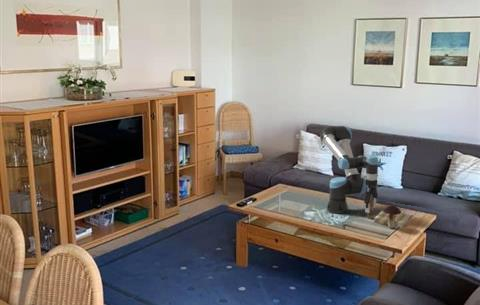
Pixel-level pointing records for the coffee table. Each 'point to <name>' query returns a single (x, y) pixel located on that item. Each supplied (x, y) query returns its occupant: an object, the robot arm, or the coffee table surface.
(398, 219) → the board
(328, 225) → the coffee table surface
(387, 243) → the coffee table surface
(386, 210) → the decorative mushroom
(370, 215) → the peg
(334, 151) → the robot arm
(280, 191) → the coffee table surface
